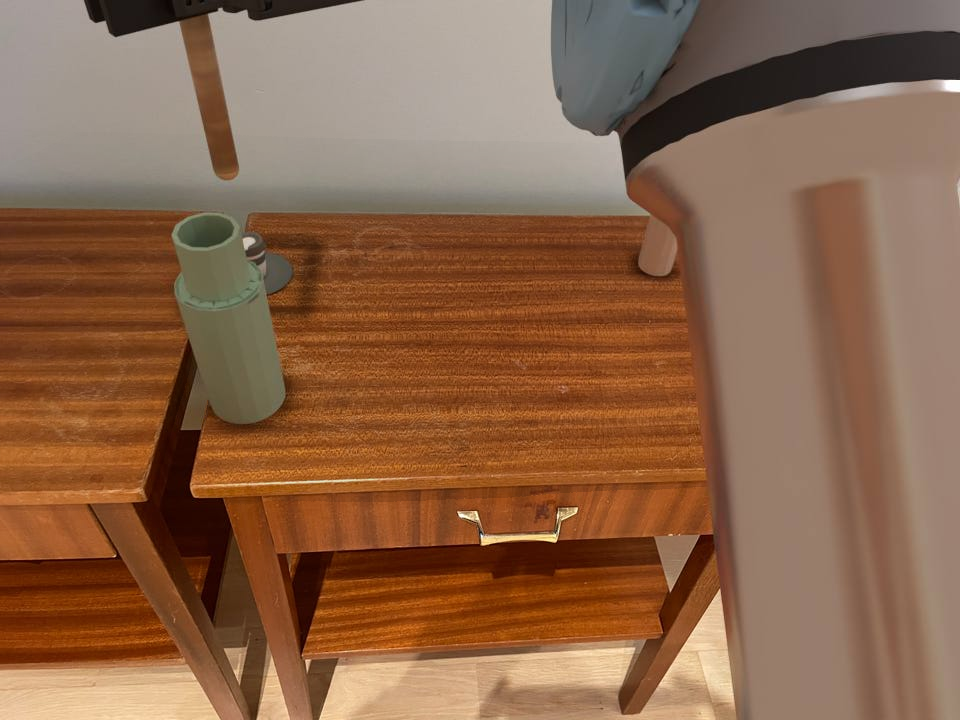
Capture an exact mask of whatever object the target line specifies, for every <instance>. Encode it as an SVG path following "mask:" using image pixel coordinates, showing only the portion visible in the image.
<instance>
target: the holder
mask: <svg viewBox="0 0 960 720" xmlns="http://www.w3.org/2000/svg"><path fill="white" fill-rule="evenodd" d="M649 214H650V213H649ZM639 251H640V252H639V256H638V261H637V265H638V268H639V269H640V270H641V271H642V272H644V273H645V274H647V275H649V276H654V277H664V276H667V275H669V274H670V273H671V272H672V270H673V267H674V265H675V262H676V258H677V256H678V249H677V241H676V237H675V235H674V234H673V233H672V231H671V230H670V228H669V227H668V226H667V225H665V224H664V223H663V222H661V221H660V220H658V219H657V218H656V217H654V216H653V215H651V214H650V215H649V218H648V222H647V226H646V229H645V233H644V237H643V239H642V243H641V247H640V250H639Z"/></svg>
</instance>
